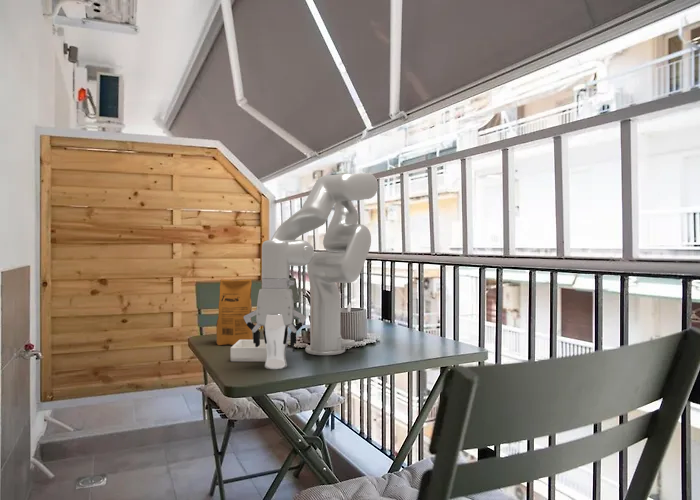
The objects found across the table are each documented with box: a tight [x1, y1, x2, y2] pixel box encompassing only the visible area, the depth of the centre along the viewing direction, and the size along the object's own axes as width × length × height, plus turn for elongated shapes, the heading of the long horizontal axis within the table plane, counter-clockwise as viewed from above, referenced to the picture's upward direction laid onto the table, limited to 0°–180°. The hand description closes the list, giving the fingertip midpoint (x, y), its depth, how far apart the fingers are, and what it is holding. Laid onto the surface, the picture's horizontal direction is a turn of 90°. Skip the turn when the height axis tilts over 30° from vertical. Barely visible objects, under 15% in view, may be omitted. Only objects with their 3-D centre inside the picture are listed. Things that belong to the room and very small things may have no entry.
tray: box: [230, 339, 266, 362], centre depth 149 cm, size 12×12×4 cm
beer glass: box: [262, 314, 289, 370], centre depth 137 cm, size 7×7×15 cm
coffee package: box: [215, 278, 253, 346], centre depth 170 cm, size 10×12×22 cm
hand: (274, 346), depth 137 cm, fingers open, 9 cm apart
